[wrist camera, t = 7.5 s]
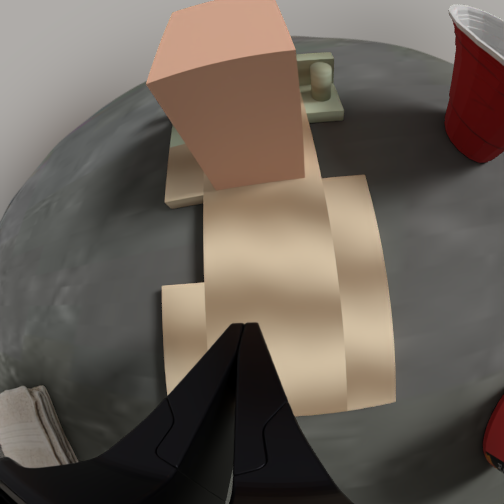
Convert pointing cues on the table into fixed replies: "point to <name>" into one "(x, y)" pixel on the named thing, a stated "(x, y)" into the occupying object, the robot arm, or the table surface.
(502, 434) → the canned food
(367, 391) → the trap board
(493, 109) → the plastic cup
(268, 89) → the block
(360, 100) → the table surface
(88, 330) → the table surface
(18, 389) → the washcloth
